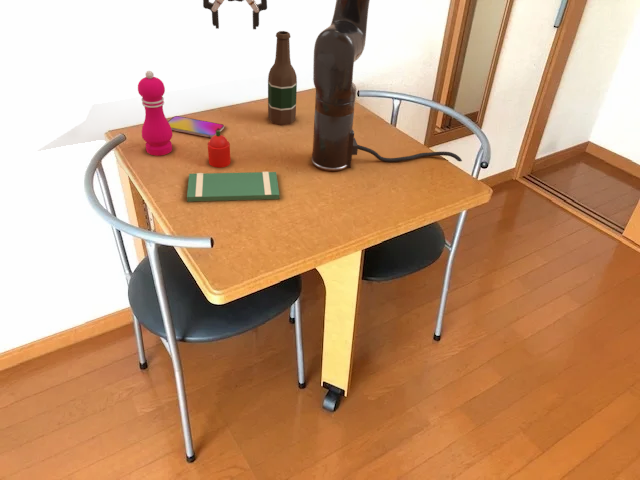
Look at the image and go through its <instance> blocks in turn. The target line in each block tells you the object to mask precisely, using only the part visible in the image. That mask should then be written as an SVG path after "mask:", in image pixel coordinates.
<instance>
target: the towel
mask: <svg viewBox="0 0 640 480" xmlns="http://www.w3.org/2000/svg"><path fill="white" fill-rule="evenodd" d="M278 182H279V181H278V176H277V171H255V172H252V171H251V172H250V171H249V172H206V173H205V172H196V173H188V180H187V192H186V201H187V202H188V203H189V202H222V201H224V202H225V201H226V202H227V201H254V200H255V201H257V200H259V201H260V200H280V189H279V183H278Z"/></svg>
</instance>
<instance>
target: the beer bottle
mask: <svg viewBox="0 0 640 480" xmlns="http://www.w3.org/2000/svg"><path fill="white" fill-rule="evenodd" d="M275 37H276V46H275V57H274V58H275V59H274V63H273V65H272V66H271V67H270V69H269V72H268V75H267V116H268V117H267V118H268V119H269V121H270V122H271V123H272V124H275V125H278V126H287V125H292V123H293V122H295V121H296V115H297V93H298V90H297V89H298V79H297V78H298V77H297V73H296V70H295V68H294V67H293V65H292V62H291V49H290V48H291V47H290V38H291V33H290V32H289V31H286V30H279V31H277V32H276V34H275Z"/></svg>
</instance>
